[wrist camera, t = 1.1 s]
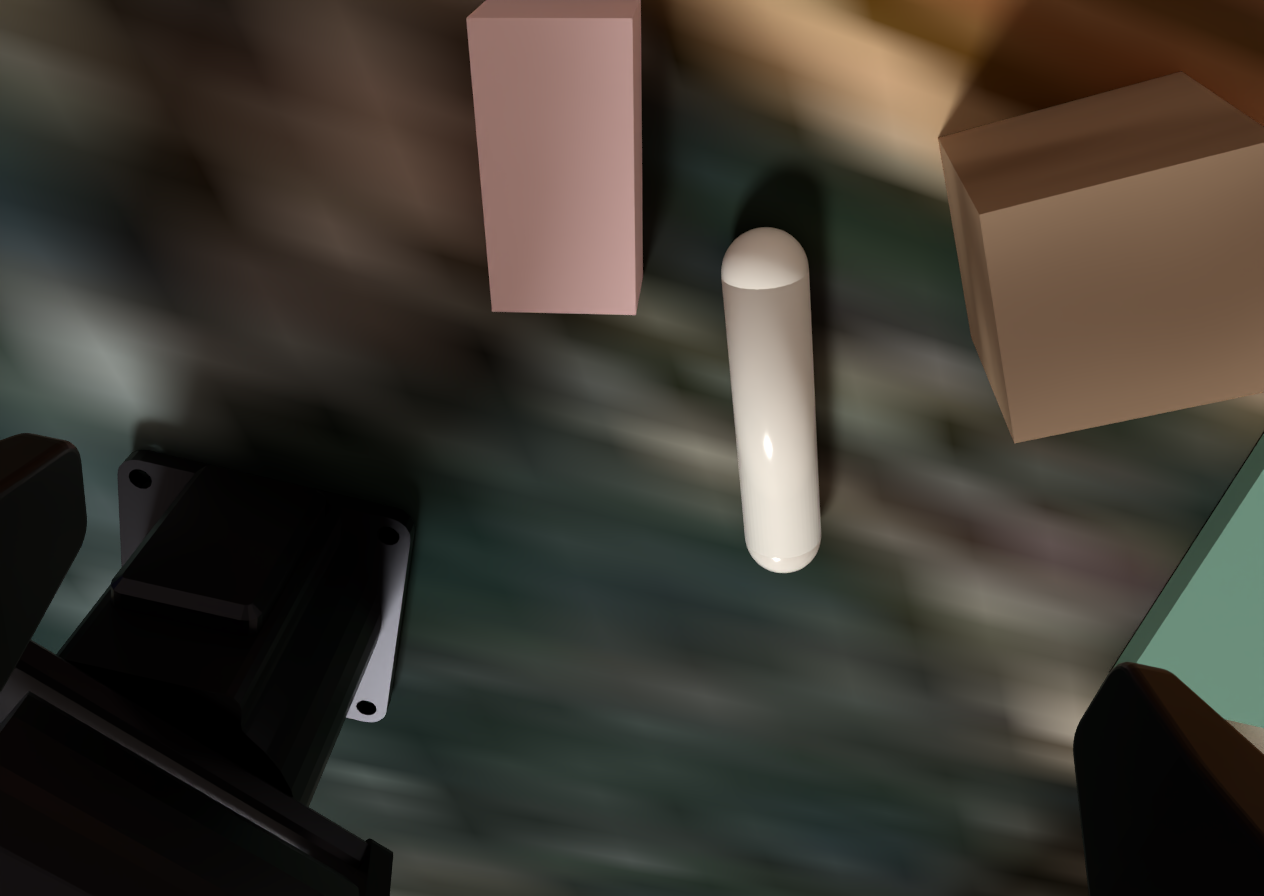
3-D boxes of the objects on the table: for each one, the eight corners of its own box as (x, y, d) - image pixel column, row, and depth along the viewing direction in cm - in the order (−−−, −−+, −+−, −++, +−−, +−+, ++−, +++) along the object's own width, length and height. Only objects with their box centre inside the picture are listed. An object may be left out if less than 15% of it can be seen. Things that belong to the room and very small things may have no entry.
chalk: (820, 541, 24) (824, 587, 22) (747, 544, 24) (747, 590, 23) (804, 210, 20) (809, 242, 19) (718, 218, 20) (716, 250, 19)
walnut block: (1191, 284, 20) (1283, 388, 17) (970, 335, 21) (1014, 443, 17) (1179, 70, 18) (1281, 138, 15) (937, 136, 19) (979, 214, 16)
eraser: (643, 271, 21) (635, 315, 19) (511, 268, 21) (492, 311, 19) (642, -5, 18) (632, 18, 17) (491, -5, 18) (466, 17, 17)
